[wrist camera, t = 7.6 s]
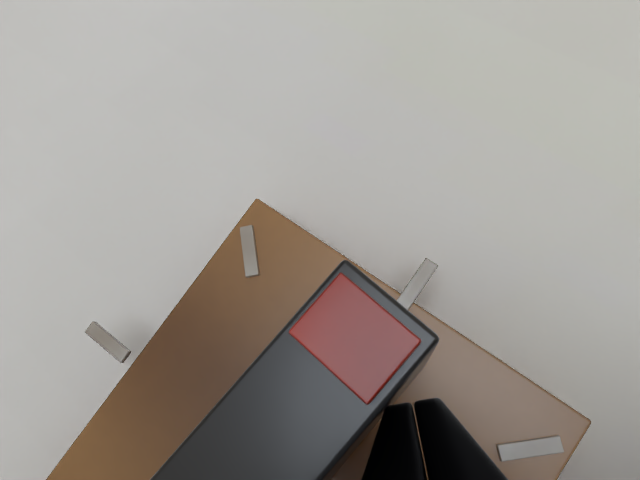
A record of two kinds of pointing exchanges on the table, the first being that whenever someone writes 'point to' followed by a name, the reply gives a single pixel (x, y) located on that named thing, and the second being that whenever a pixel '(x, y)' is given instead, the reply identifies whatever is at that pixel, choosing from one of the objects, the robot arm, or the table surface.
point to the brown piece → (261, 328)
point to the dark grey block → (310, 388)
